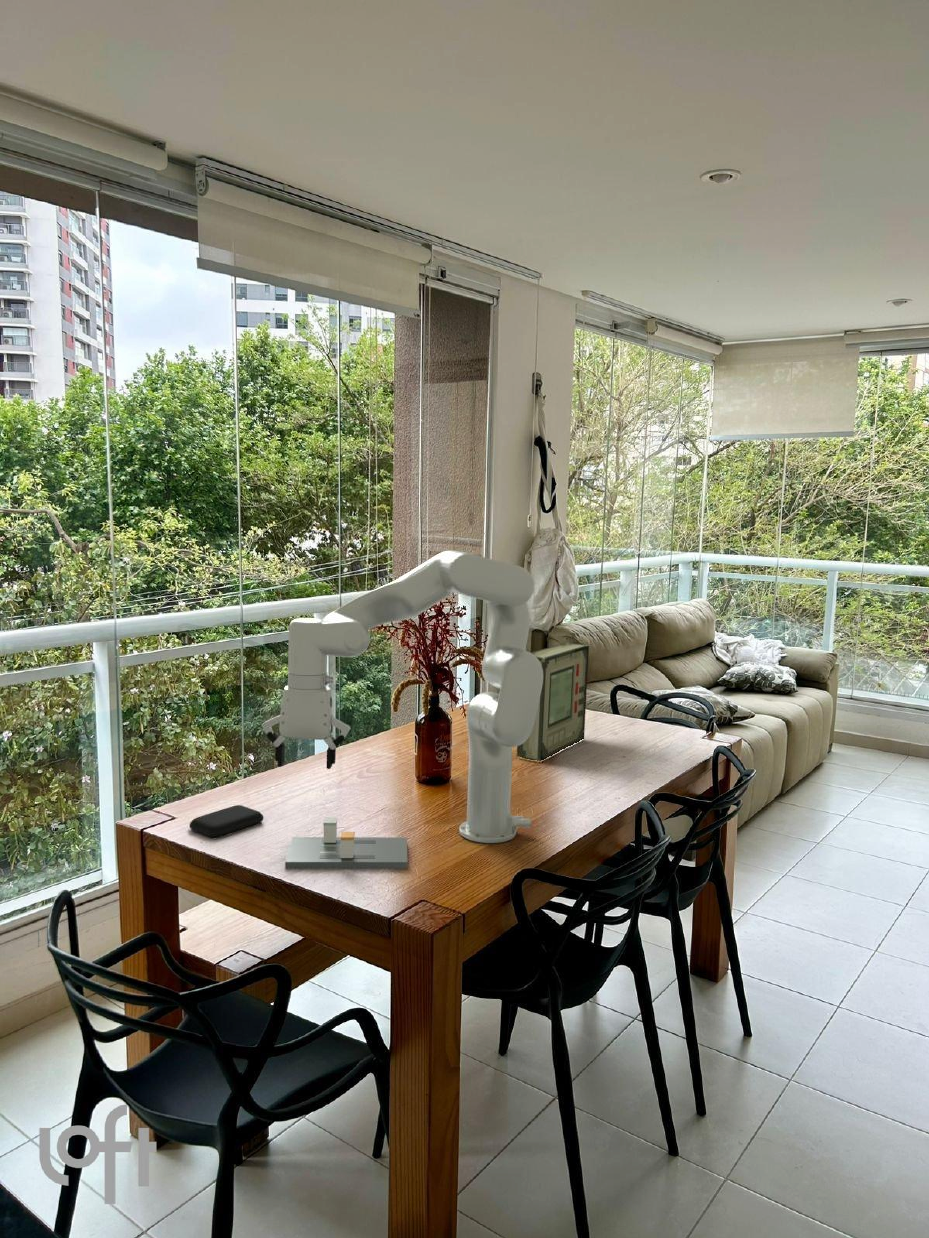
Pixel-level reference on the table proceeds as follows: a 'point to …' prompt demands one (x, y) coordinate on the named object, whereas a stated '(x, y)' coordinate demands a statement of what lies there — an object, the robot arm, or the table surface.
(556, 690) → the control panel
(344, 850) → the block
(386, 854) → the grey slotted panel
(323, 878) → the table surface
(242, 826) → the carrying case or bag
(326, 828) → the breaker
